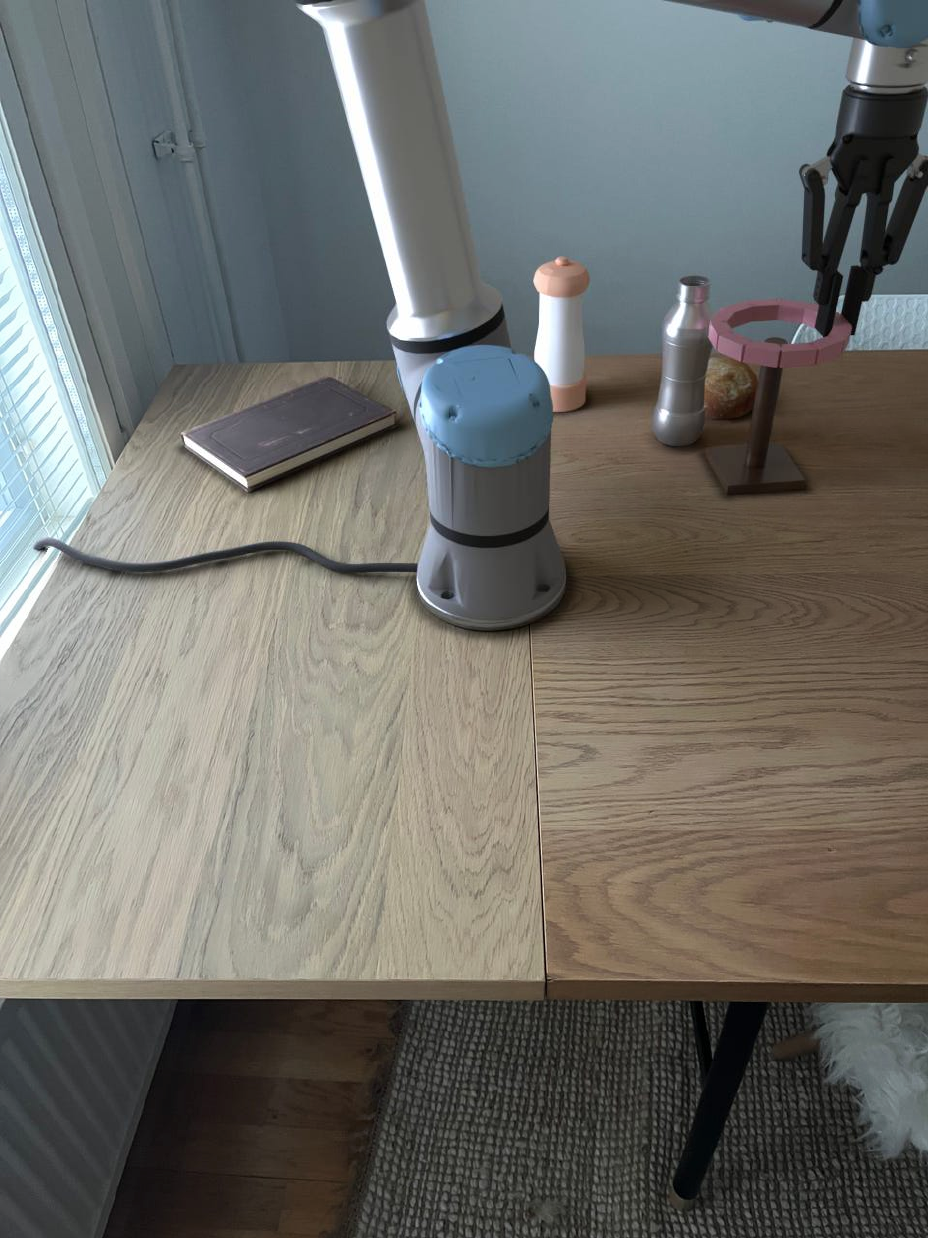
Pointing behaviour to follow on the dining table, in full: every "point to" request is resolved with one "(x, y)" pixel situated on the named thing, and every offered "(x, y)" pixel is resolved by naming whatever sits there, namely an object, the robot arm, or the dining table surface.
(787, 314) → the ring
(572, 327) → the salt shaker
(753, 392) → the bread roll
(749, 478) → the stand
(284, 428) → the hardcover book
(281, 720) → the dining table surface
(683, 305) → the silver bottle
